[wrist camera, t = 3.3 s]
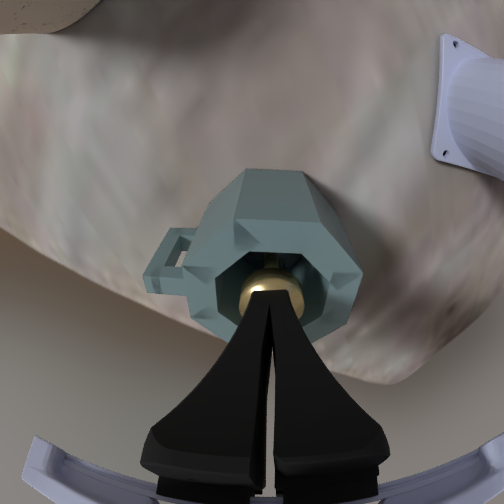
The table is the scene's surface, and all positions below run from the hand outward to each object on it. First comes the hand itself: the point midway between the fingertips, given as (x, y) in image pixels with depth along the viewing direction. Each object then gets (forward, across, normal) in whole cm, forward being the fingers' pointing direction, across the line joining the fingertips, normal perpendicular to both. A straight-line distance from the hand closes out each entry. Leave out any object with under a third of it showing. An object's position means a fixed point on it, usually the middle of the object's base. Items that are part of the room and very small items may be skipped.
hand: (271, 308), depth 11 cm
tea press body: (+7, +1, 0) cm, 7 cm away
